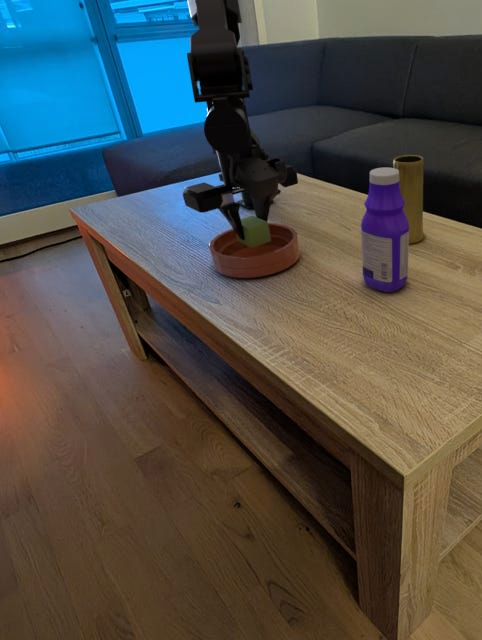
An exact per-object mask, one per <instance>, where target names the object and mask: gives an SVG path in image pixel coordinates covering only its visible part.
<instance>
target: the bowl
mask: <svg viewBox="0 0 482 640" xmlns="http://www.w3.org/2000/svg"><path fill="white" fill-rule="evenodd" d="M268 226H269V231H270V237H271V241H270V242H268V243H265V244H262V245H260V246H257V247H254V248H251V247H249V246H247V245H245V244H243V243H241V242H239V241H238V240H237V236H236V232H235V231H234V229H233V228H231V229H228V230H225V231H223V232H221V233H219V234H217V235H216V236H215V237H214V238H213V239H211V241H210V242H209V245H208V250H209V254H210V257H211V261H212V264H213V267H214V269H215V272H218V273H219V274H221V275H223V276H226V277H231V278H238V279H239V278H240V279H243V278H244V279H251V278H259V277H264V276H269V275H273V274H276V273H279V272H282V271H284V270H286V269H288V268H290V267H291V266H293V265H294V264H295V263H296V262H297V261H298V260H299V258H300V256H301V249H300V243H299V235H298V234H299V233H298V232H297V231H296V230H295V229H294V227H292V226H291V227H290V226H289V225H286V224H280V223H276V222H275V223H272V222H271V223H270V222H268Z"/></svg>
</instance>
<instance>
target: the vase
mask: <svg viewBox="0 0 482 640" xmlns="http://www.w3.org/2000/svg"><path fill="white" fill-rule="evenodd" d="M424 163H425V159H424V157H423V156H421V155H418V154H417V155H416V154H405V155H398V156H396V157H394V158H393V162H392V166H393V167H392V168H395V169H397V170H399V186H400V192H401V195H402V198H403V199H404V201H405V205H404V207H403V211H404V213H405V215H406V217H407V219H408V223H409V245H410V244H416V243H419V242H421V241H422V240H423V239H424V228H423V227H424V223H423V221H424V216H423V215H424V168H425V167H424Z"/></svg>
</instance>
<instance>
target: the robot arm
mask: <svg viewBox="0 0 482 640" xmlns="http://www.w3.org/2000/svg"><path fill="white" fill-rule="evenodd" d="M187 6H188V10H189V14H190V20H191V21H192V23H193V25H194V27H197V28H198V29H197V30H196V31H195V32H194V33H193V34H191V35H190V36H189V49H190V52H186V58H187V65H188V72H189V76H190V82H191V89H192V94H193V100H194V103H195V104H198V103H205V104H206V111H207V115H206V117H205V120H204V123H203V132H204V136H205V139H206V141H207V143H208V144H209V146H210V147H211V149H212V153H213V155H214V156H215V155H216V156H217V159H218V164H219V167H220V172H221V173H218V179H219V182H223V183H222V184H219V185H216V186H215V185H212V184H209V183H207V182H200V183H196V184H193V185H189V186H185V187H184V189H183V192H182V198H183V201H184V205H185V206H186V207H188V208H190V209H192V210H194V211H196V212H198V213H209V212H210V211H215V210H217V209H218V210H219V212H220V213H221V214H222V215H223V217H224V218H225V219H226V221H227V222H228V224H229V225H230V227H231V229H234V231H235V232H236V234H237V235H238V236H239V238H240V239H241V240H245V237H244V230H243V226H242V223H241V219H242V218H241V216H240V207H241V206H242V207H244V208H246V209H249V210H253V209H254V213H255V217H257V218H260V219H262V220H264V221H267V222H269V221H268V219H269V213H270V210H271V205H272V203H274V199H275V198H276V197H277V196H279V195H281V192H282V190H281V189H279V185H280V186H281V187H283V188H289V187H291V186H292V187H293V186H295V185H298V184H299V179H298V172H297V171H296V169H295V168H294V167H293V166H292V165H289V164H286V160H285V159H284V158H283V157H281V156H275V157H272V158H269V154H268V153H266V151H265V148H264V147H262V148H261V144H260V138H259V136H258V135H257V134H256V133H255V131H253V129H252V128H251V127H250V121H249V117H248V111H247V105H246V101H245V99H249V98H250V99H251V94H250V91H253V90H254V88H253V81H252V80H253V79H252V74H251V69H250V63H249V62H250V61H249V57H248V56H246V55H245V52H244V51H245V50H244V49H243V48H242V47H239V48H238V46H239V43H240V39H241V31H240V24H243V20H242V14H241V9H240V4H239V0H187ZM243 88H244V89H243ZM237 194H241V195H240V196H241V200H238V201H235V198H234V195H237Z"/></svg>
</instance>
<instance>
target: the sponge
mask: <svg viewBox="0 0 482 640" xmlns="http://www.w3.org/2000/svg"><path fill="white" fill-rule="evenodd" d="M240 219H241V223H242V226H243V230H244V237H245V240H241V239H240V238H239V236H238V235H237V234H236V236H237V240H238V241H239V242H241V243H243V244H245V245H247V246H249V247H251V248H254V247H257V246H260V245H262V244H265V243H268V242H270V241H271V237H270V231H269V226H268V223H269V221H264V220H262V219H260V218H257V217H256V215H250V216H247V217H244V218H240Z"/></svg>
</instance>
